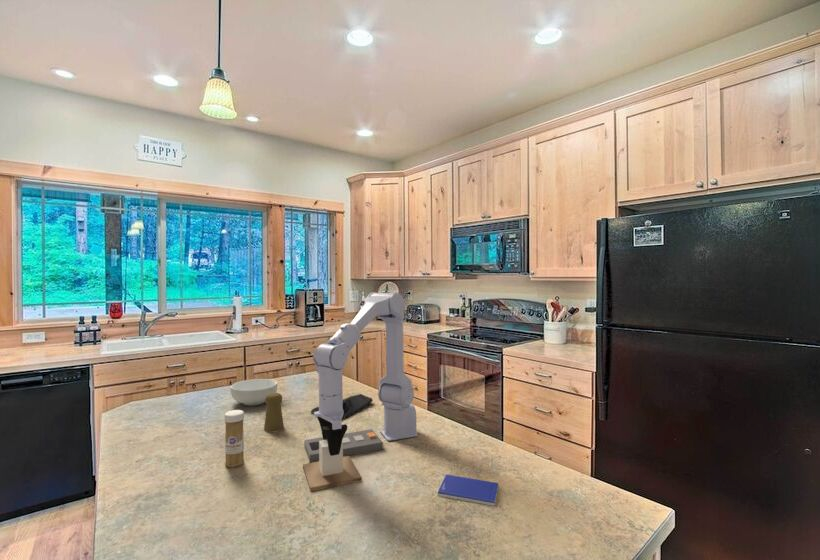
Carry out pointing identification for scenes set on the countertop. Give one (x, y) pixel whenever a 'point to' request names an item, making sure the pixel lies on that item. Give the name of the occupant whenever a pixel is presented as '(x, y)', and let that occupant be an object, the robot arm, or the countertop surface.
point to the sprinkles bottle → (234, 438)
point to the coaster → (321, 482)
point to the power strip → (347, 444)
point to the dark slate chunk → (352, 404)
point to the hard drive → (469, 489)
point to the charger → (329, 460)
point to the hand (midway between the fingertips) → (331, 448)
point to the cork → (273, 413)
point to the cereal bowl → (253, 391)
